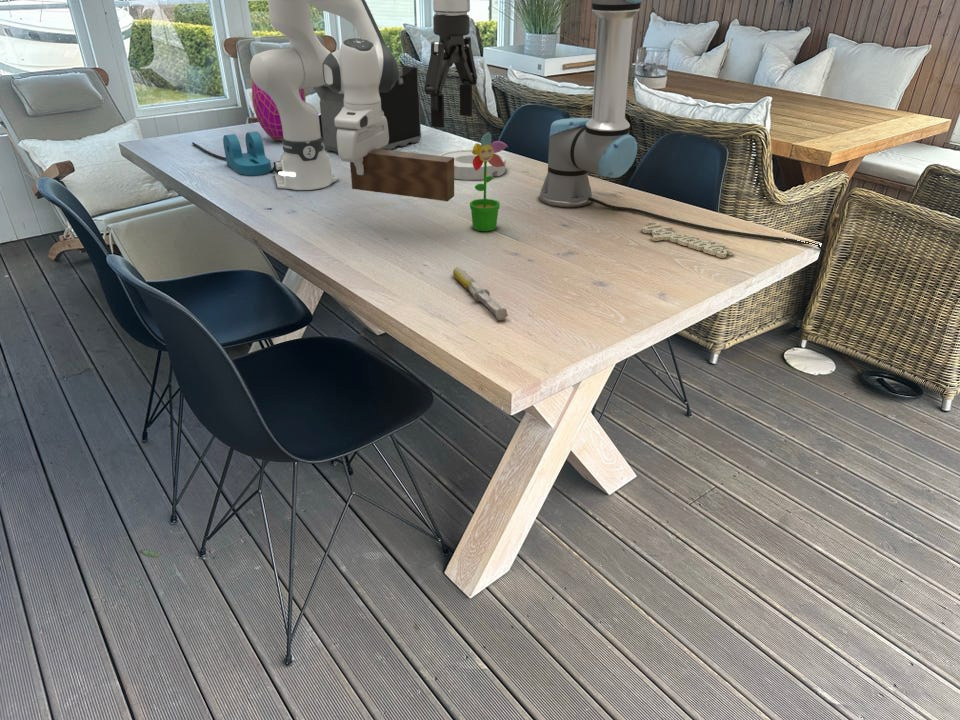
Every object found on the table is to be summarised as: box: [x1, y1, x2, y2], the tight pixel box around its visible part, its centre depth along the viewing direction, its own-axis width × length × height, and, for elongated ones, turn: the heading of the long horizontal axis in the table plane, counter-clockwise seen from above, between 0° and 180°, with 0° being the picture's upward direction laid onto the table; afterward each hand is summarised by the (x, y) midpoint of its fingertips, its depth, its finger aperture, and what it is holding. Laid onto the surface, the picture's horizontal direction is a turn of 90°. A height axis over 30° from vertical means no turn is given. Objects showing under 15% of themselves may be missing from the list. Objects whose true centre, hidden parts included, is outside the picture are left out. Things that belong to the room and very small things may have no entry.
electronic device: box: [312, 64, 422, 153], centre depth 250 cm, size 37×22×30 cm, turn 144°
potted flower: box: [469, 131, 509, 232], centre depth 175 cm, size 9×8×25 cm
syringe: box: [452, 266, 509, 321], centre depth 145 cm, size 25×4×3 cm, turn 21°
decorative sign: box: [641, 221, 733, 259], centre depth 174 cm, size 26×1×10 cm
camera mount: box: [222, 131, 272, 176], centre depth 226 cm, size 18×10×10 cm, turn 35°
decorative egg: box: [251, 78, 307, 142], centre depth 257 cm, size 19×19×30 cm
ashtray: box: [437, 149, 507, 181], centre depth 229 cm, size 23×23×4 cm
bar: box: [349, 149, 455, 202], centre depth 169 cm, size 26×5×10 cm, turn 70°
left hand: (366, 171), depth 172 cm, fingers closed on bar, 4 cm apart
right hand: (452, 121), depth 152 cm, fingers open, 13 cm apart
